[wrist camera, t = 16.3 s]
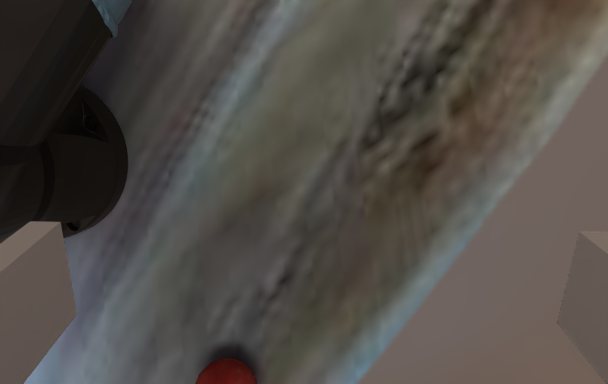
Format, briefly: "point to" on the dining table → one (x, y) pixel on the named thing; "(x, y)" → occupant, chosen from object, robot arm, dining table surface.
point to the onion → (226, 373)
